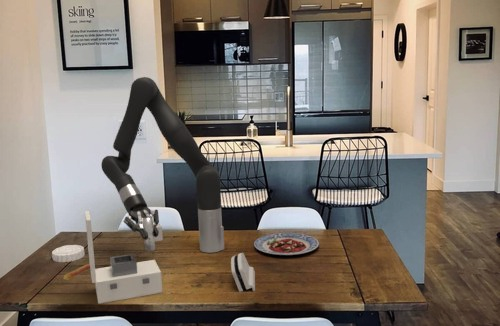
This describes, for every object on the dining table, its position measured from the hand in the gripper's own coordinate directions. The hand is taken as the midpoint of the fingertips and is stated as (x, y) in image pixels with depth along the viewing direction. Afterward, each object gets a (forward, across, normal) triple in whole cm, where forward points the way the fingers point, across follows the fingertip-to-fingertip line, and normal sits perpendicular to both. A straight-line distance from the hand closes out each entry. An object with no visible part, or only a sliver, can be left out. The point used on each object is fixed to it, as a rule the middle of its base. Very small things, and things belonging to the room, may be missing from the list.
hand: (151, 237), depth 181 cm
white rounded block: (+31, +16, -13) cm, 37 cm away
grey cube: (-13, +18, +30) cm, 37 cm away
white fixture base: (+16, -16, +1) cm, 22 cm away
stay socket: (+11, -17, -4) cm, 20 cm away
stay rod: (+2, 0, +5) cm, 5 cm away
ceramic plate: (+22, +50, -3) cm, 55 cm away
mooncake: (-17, -17, +34) cm, 42 cm away
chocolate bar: (-3, -22, +21) cm, 30 cm away
